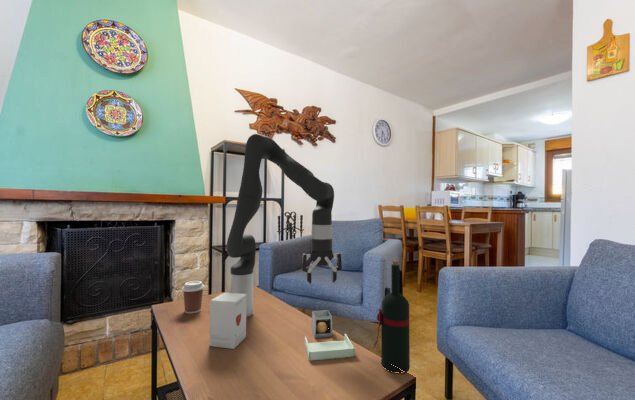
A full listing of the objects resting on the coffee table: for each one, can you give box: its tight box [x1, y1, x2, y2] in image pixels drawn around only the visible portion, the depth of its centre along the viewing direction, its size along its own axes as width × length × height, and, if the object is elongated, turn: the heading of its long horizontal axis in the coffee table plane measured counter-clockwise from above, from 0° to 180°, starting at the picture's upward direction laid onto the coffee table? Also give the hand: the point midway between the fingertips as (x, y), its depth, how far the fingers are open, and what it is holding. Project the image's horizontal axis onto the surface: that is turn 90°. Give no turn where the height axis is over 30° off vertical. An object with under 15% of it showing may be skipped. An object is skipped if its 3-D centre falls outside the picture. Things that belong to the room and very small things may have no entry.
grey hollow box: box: [311, 309, 333, 339], centre depth 101 cm, size 6×6×7 cm
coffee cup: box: [181, 280, 206, 314], centre depth 122 cm, size 9×9×12 cm
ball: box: [316, 322, 328, 334], centre depth 101 cm, size 4×4×4 cm
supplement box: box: [208, 292, 247, 350], centre depth 95 cm, size 9×9×15 cm
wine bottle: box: [373, 259, 411, 373], centre depth 81 cm, size 8×10×30 cm
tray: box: [304, 333, 356, 362], centre depth 89 cm, size 10×14×2 cm
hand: (321, 282), depth 101 cm, fingers open, 8 cm apart
